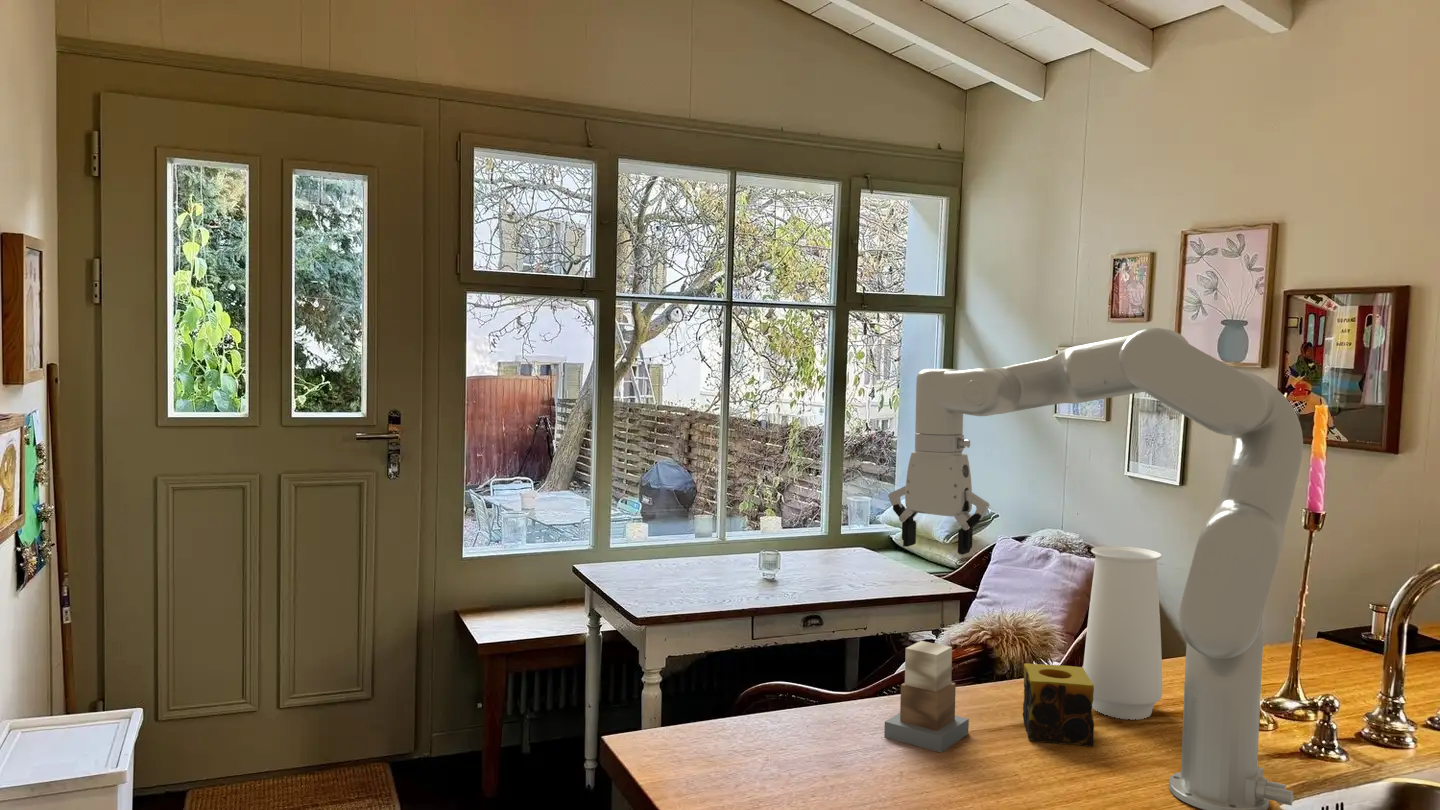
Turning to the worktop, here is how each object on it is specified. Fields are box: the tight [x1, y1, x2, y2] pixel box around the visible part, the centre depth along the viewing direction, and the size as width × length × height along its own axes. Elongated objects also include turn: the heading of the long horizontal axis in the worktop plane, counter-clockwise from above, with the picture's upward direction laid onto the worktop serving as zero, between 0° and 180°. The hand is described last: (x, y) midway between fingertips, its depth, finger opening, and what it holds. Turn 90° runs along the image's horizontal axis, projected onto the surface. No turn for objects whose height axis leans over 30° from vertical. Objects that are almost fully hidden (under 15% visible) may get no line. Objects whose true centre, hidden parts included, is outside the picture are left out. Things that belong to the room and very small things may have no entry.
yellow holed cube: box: [1022, 662, 1095, 747], centre depth 161 cm, size 10×10×10 cm
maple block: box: [904, 640, 953, 692], centre depth 159 cm, size 6×6×6 cm
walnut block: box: [899, 681, 957, 731], centre depth 159 cm, size 6×6×6 cm
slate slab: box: [883, 712, 970, 754], centre depth 159 cm, size 10×10×2 cm
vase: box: [1082, 545, 1163, 721], centre depth 172 cm, size 13×13×28 cm
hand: (936, 549), depth 160 cm, fingers open, 9 cm apart
